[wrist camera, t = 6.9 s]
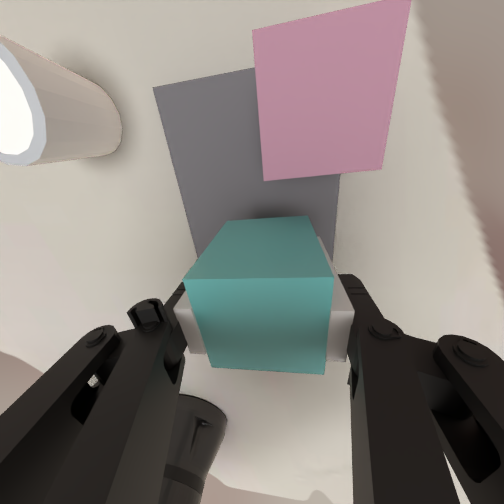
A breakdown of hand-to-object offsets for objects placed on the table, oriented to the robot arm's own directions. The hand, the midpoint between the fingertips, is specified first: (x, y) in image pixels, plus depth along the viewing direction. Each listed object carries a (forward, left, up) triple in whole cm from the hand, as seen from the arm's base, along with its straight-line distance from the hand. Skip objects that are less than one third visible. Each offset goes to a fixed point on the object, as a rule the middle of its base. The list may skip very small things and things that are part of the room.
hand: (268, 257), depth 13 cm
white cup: (-15, +11, -7) cm, 20 cm away
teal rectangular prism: (0, 0, 0) cm, 0 cm away
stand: (-1, +3, -7) cm, 7 cm away
